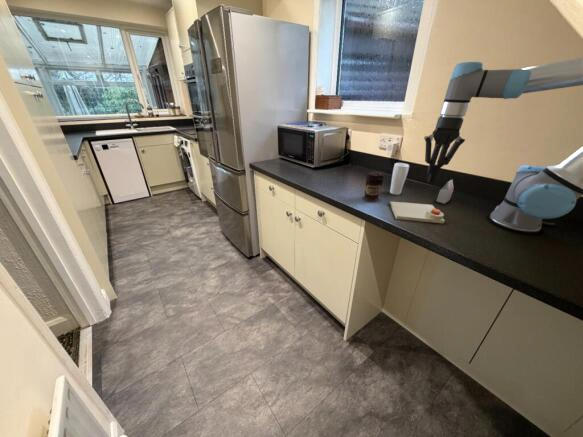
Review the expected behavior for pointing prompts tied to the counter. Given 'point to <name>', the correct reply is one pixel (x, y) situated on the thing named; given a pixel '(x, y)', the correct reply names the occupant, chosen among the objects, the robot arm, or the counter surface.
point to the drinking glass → (398, 177)
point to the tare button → (435, 211)
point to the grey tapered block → (446, 192)
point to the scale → (415, 212)
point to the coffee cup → (373, 185)
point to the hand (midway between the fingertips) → (430, 181)
